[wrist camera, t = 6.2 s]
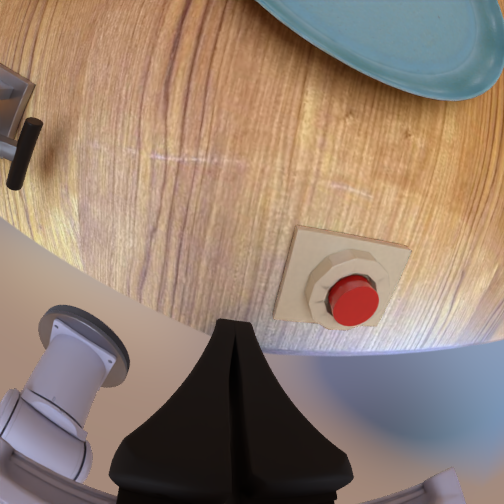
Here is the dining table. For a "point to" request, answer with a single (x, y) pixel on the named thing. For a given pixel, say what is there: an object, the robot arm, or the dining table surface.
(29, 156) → the lever
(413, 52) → the teal plate
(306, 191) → the dining table surface
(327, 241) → the button block
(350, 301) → the button
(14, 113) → the bracket
